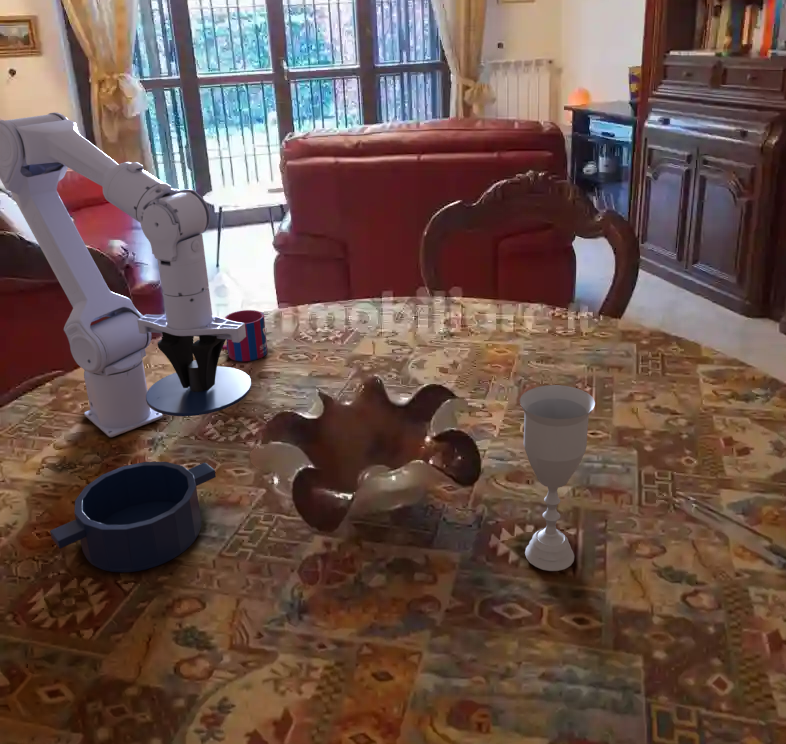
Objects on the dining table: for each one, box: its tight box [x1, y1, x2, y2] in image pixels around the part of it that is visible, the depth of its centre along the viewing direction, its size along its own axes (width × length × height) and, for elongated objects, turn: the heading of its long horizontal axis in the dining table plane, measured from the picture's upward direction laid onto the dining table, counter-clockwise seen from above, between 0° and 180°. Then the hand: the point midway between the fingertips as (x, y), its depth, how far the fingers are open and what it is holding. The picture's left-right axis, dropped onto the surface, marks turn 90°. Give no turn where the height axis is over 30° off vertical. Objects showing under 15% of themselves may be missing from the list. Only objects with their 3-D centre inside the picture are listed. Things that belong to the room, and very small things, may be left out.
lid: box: [146, 360, 252, 417], centre depth 99 cm, size 14×14×5 cm
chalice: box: [519, 384, 596, 572], centre depth 75 cm, size 7×7×18 cm
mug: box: [222, 309, 268, 362], centre depth 128 cm, size 7×10×7 cm
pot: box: [49, 461, 217, 573], centre depth 83 cm, size 13×18×5 cm
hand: (199, 385), depth 99 cm, fingers closed on lid, 2 cm apart
